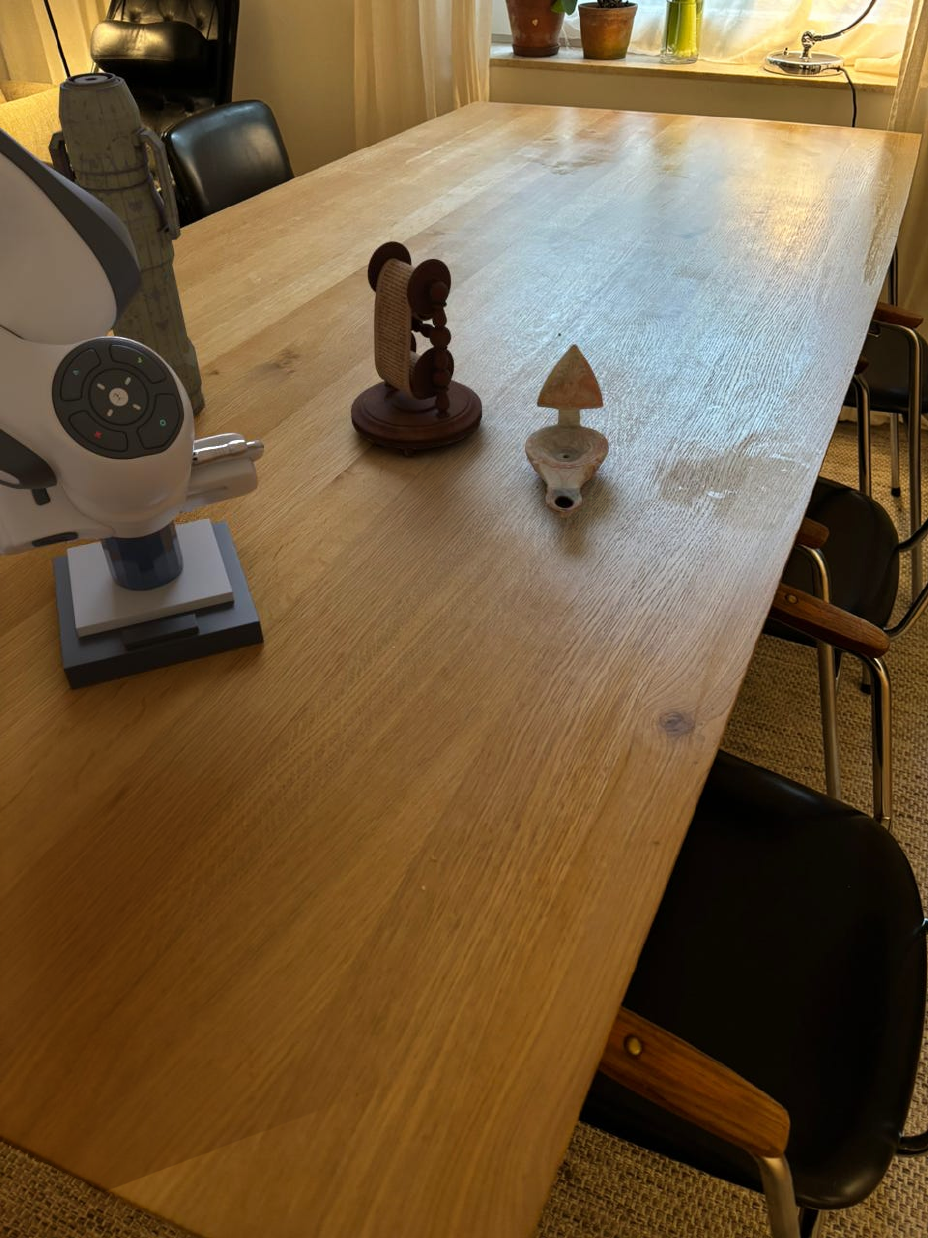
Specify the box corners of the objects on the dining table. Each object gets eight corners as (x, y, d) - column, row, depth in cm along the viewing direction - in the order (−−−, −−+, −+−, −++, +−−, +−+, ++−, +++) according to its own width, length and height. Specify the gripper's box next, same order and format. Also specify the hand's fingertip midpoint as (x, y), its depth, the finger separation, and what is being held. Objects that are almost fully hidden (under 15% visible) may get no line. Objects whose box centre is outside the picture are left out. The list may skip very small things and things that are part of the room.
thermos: (130, 388, 121) (47, 67, 99) (225, 389, 121) (163, 66, 98) (106, 424, 115) (11, 89, 92) (206, 425, 114) (136, 88, 91)
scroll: (327, 424, 114) (306, 249, 101) (427, 384, 121) (420, 215, 108) (405, 476, 105) (393, 291, 92) (509, 429, 112) (511, 252, 99)
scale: (71, 690, 81) (59, 659, 79) (59, 578, 93) (49, 549, 90) (264, 642, 85) (258, 611, 83) (230, 540, 97) (224, 511, 95)
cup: (115, 597, 85) (88, 510, 79) (108, 557, 89) (82, 471, 83) (188, 581, 86) (166, 494, 81) (178, 542, 91) (156, 457, 85)
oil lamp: (607, 428, 112) (614, 344, 105) (605, 538, 96) (613, 448, 89) (530, 424, 113) (533, 342, 106) (515, 533, 97) (517, 443, 90)
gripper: (253, 399, 74) (238, 452, 87) (-38, 465, 67) (-7, 512, 81) (279, 478, 74) (260, 520, 87) (-10, 552, 67) (16, 585, 80)
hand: (130, 517), depth 84 cm, fingers open, 8 cm apart
